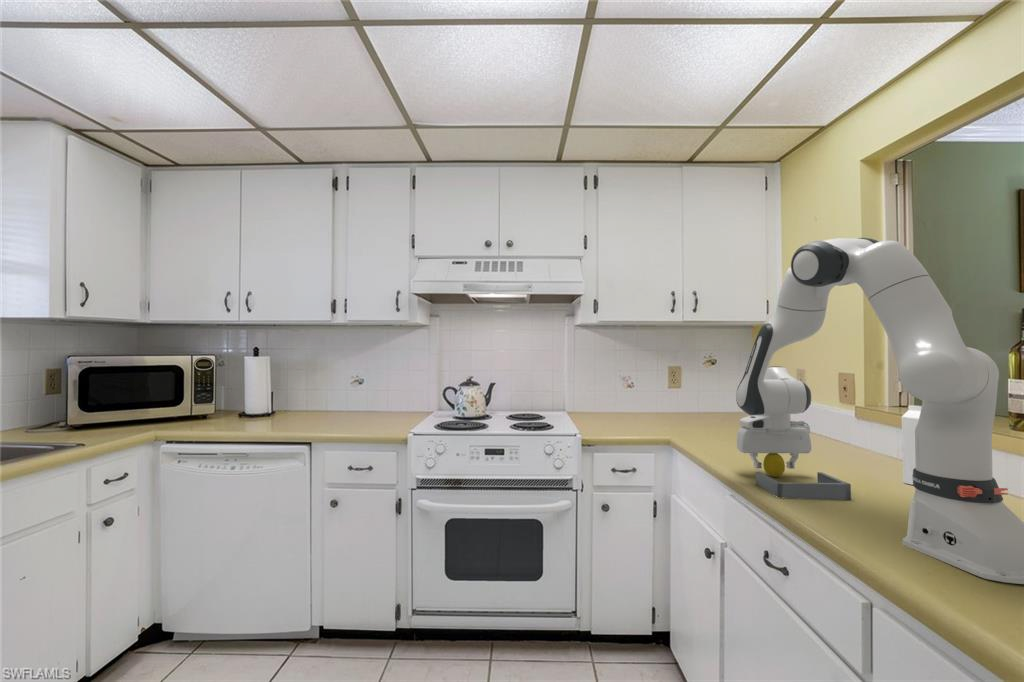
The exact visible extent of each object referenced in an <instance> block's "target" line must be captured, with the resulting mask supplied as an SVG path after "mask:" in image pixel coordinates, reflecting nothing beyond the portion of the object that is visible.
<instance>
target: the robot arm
mask: <svg viewBox="0 0 1024 682" xmlns="http://www.w3.org/2000/svg"><path fill="white" fill-rule="evenodd" d="M853 284H857V285H858V286H859V287H860V288H861V290H862V292H863V293H864V295H865V297H866V299H867V301H868V303H869V305H870V306H871V307H872V309H873V311H874V313H875V315H876V316H877V318H878V320H879V322H880V323H881V325H882V328H883V329H884V331H885V333H886V335H887V337H888V340H889V343H890V346H891V350H892V353H893V356H894V359H895V362H896V365H897V367H898V381H899V384H900V385H901V386H902V388H903V389H904V391H906V393H908V394H909V395H911V396H912V397H914V398H916V399H918V400H920V401H921V402H922V403H921V406H922V407H921V412H920V417H919V421H918V424H917V426H916V428H915V466H916V468H914V469H913V475H912V479H913V485H912V486H913V487H914V488H915V489H914V495H913V497H912V500H911V501H910V504H909V512H908V521H907V522H908V523H907V530H906V531H907V532H906V536H905V537H903V538H902V542H901V544H902V545H903V544H904V545H903V546H905V545H906V547H907V546H908V548H910V547H911V548H910V549H912V548H913V549H912V550H914V549H915V551H917V552H919V553H921V554H924V555H927V556H929V557H931V558H934V559H936V560H939V561H941V562H944V563H946V564H948V565H949V566H953V567H955V568H957V569H960V570H963V571H965V572H967V573H970V574H972V575H974V576H977V577H980V578H981V579H985V580H990V581H996V582H1002V583H1008V584H1019V585H1024V521H1023V520H1022V519H1020V518H1019V517H1018V515H1016V514H1015V512H1013V511H1012V510H1011V509H1010V508H1009V507H1008V506H1007V505H1006V504H1005V503H1004V502H1003V501H1004V497H1003V495H1005V496H1008V495H1009V493H1007V492H1004V491H1008V490H1009V488H1007V487H1000V486H999V485H998V482H997V480H996V479H995V478H994V476H993V444H992V443H993V442H992V441H993V428H994V422H995V416H996V409H997V400H998V399H997V398H998V388H999V379H1000V370H999V368H998V365H997V364H996V362H995V361H994V359H992V358H991V357H990V356H989V355H988V354H987V353H985V352H983V351H981V350H979V349H976V348H974V347H969V346H966V344H965V342H964V341H963V338H962V336H961V334H960V332H959V330H958V327H957V325H956V323H955V319H954V317H953V310H952V309H951V307H950V305H949V304H948V302H947V301H946V299H945V297H944V296H943V294H942V293H941V291H940V289H939V288H938V287H937V285H936V282H934V280H933V279H932V277H931V275H930V274H929V273H928V271H927V269H926V268H925V267H924V266H923V264H922V263H921V262H920V260H919V259H918V258H917V257H916V256H915V255H914V254H913V253H912V252H911V250H909V249H908V248H907V247H906V246H905V244H903V243H902V242H899V241H896V240H892V239H891V240H881V241H879V240H877V239H873V238H868V237H857V238H855V237H853V238H851V237H849V238H848V237H846V238H845V237H838V238H830V239H829V238H828V239H825V240H815V241H812V242H808V243H806V244H804V245H802V246H800V247H799V248H798V249H797V250H796V251H795V252H794V254H793V255H792V257H791V261H790V267H789V268H788V269H787V270H786V272H785V274H784V277H783V280H782V283H781V286H780V290H779V293H778V298H777V305H776V308H775V311H774V314H773V315H772V316H771V318H770V319H769V321H768V322H767V323H766V324H763V325H762V326H761V327H760V329H759V330H758V333H757V335H756V338H755V341H754V344H753V346H752V349H751V352H750V355H749V359H748V362H747V365H746V368H745V371H744V373H743V376H742V378H741V381H740V383H739V384H738V385H737V386H738V387H737V389H736V393H735V394H736V395H735V397H736V398H735V399H736V404H737V406H738V407H739V409H740V410H742V411H743V412H744V413H746V414H747V415H748V416H745V417H742V418H740V419H739V425H740V427H739V428H738V430H737V435H736V449H737V450H738V451H739V452H741V453H743V454H749V457H750V458H751V460H752V461H753V468H754V469H762V465H763V464H762V462H761V461H758V457H759V456H758V454H769V453H777V454H789V455H790V459H789V461H786V462H785V463H786V464H785V468H787V469H790V470H791V469H793V470H794V469H795V468H796V467H795V463H796V462H797V460H798V459H799V454H810V453H811V452H812V441H811V435H810V434H811V432H810V431H811V428H810V425H809V424H808V423H807V422H805V421H802V420H800V421H798V420H797V421H796V420H794V421H793V420H791V415H797V414H802V413H804V412H806V411H807V410H808V409H809V408H810V406H811V403H812V392H811V389H810V387H809V386H808V385H807V384H806V383H804V382H803V381H802V380H799V379H797V378H795V377H794V376H791V374H790V373H789V369H787V368H786V367H784V366H778V365H774V366H773V365H772V366H770V363H771V359H772V357H773V355H774V354H775V353H776V352H777V351H779V350H781V349H783V348H784V347H787V346H790V345H792V344H795V343H797V342H801V341H804V340H807V339H809V338H810V337H813V336H814V335H815V334H817V333H818V332H819V331H820V330H821V328H822V326H823V324H824V321H825V318H826V315H827V314H826V313H827V308H828V307H827V306H828V299H829V295H830V292H831V290H832V289H833V288H835V287H837V286H838V287H842V286H848V285H853Z"/></svg>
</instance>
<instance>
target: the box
mask: <svg viewBox="0 0 1024 682" xmlns="http://www.w3.org/2000/svg"><path fill="white" fill-rule="evenodd" d="M816 474H817V475H816V476H817V482H782V481H781V482H780V481H778V480H777V479H774V477H771V476H770V475H768V474H765V473H763V472H761V471H755V484H756V485H757V484H758V485H759V487H760V486H761V487H760V488H762V489H763V488H764V489H763V490H765V489H766V490H767V491H766V490H765V491H766V492H768V493H769V492H770V493H769V494H771V493H772V494H771V495H773V496H774V495H775V496H774V497H776V496H777V497H780V498H779V499H782V498H781V497H784V498H783V499H798V498H803V500H805V499H806V500H809V499H810V500H832V501H833V500H835V501H852V491H851V490H852V488H851V487H852V484H851V483H849V482H847V481H844V480H841V479H839V478H836V477H834V476H832V475H829V474H827V473H824V472H822V471H821V472H820V471H819V472H816ZM758 485H757V486H758ZM777 497H776V498H777ZM785 497H786V498H785Z"/></svg>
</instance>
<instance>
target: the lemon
mask: <svg viewBox="0 0 1024 682" xmlns="http://www.w3.org/2000/svg"><path fill="white" fill-rule="evenodd" d="M762 465H763V468H764V472H765V473H766V475H767V476H769V477H771V478H779V477H781V476H783V474H784V472H785V469H786V464H785V460H784V458H783V456H782V455H781V454H780V453H766V455H765V457H764V458H763V464H762Z"/></svg>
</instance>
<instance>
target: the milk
mask: <svg viewBox="0 0 1024 682" xmlns="http://www.w3.org/2000/svg"><path fill="white" fill-rule="evenodd" d="M921 407H922V405H912V404H909V405H908V410H907V411H906V412H905V413H904V414H902V416H901V450H902V451H901V452H902V455H901V456H902V458H901V459H902V483H904V484H907V485H910V486H911V485H912V486H913V479H912V475H913V469H914V468H916V466H915V428H916V426H917V424H918V421H919V417H920V412H921Z"/></svg>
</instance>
